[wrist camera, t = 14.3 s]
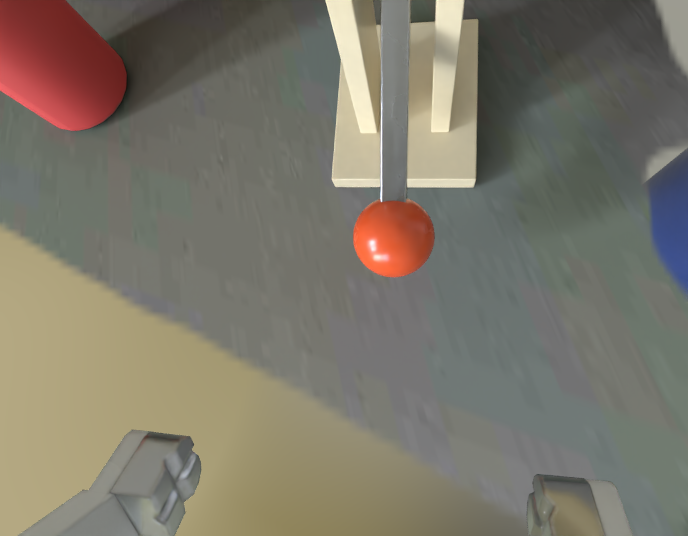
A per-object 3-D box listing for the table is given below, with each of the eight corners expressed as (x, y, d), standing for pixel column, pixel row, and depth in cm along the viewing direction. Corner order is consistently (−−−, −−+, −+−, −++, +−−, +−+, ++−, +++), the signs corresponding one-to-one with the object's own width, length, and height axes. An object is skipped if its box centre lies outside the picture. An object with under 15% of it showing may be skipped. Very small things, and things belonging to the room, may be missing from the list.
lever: (432, 263, 22) (433, 291, 19) (359, 261, 23) (347, 287, 19) (446, -84, 18) (451, -129, 14) (355, -74, 18) (338, -116, 15)
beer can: (66, 153, 31) (-147, 26, 19) (34, 83, 33) (-180, -71, 21) (147, 100, 31) (-20, -60, 19) (110, 33, 32) (-64, -152, 21)
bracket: (473, 187, 26) (522, 25, 13) (335, 187, 27) (262, 39, 15) (476, 32, 28) (519, -235, 15) (346, 40, 29) (291, -201, 17)
